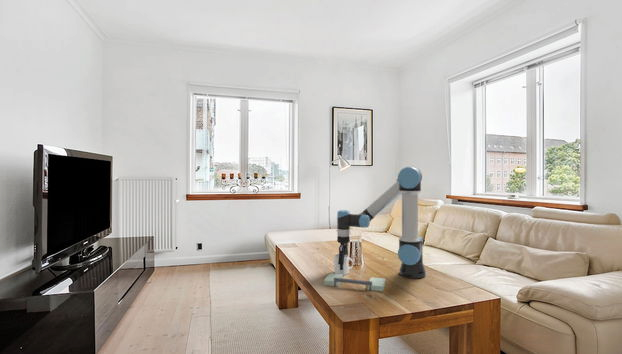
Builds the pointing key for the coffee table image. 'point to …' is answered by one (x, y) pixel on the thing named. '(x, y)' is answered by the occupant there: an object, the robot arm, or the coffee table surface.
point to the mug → (346, 268)
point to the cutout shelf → (375, 286)
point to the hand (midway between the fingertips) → (343, 272)
